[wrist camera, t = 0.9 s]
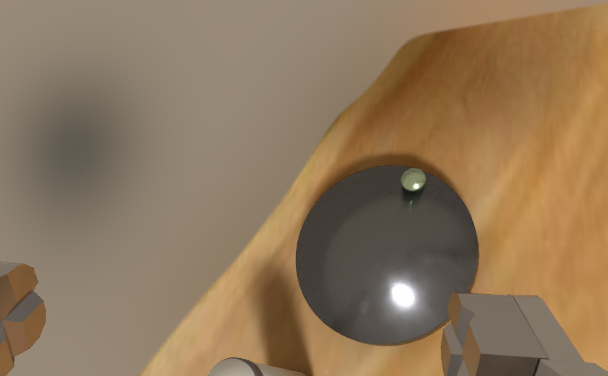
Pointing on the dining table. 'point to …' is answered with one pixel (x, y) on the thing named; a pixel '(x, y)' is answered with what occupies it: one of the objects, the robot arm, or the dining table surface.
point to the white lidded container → (249, 369)
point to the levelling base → (386, 255)
